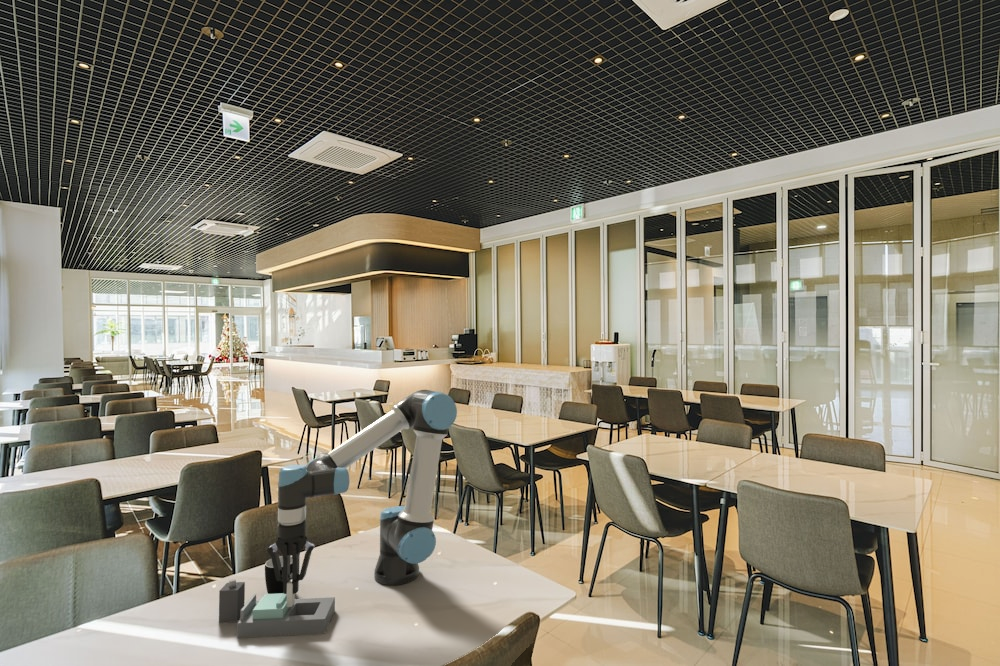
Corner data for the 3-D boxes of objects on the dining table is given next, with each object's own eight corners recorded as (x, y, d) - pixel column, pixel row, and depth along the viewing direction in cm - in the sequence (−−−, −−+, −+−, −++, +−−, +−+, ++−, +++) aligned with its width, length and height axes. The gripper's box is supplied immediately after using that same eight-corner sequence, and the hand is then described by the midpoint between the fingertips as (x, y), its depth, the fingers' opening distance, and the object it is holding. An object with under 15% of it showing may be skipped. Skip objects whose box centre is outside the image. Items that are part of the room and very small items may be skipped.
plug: (244, 612, 149) (244, 576, 149) (237, 621, 144) (237, 584, 144) (226, 613, 148) (227, 577, 148) (218, 622, 143) (219, 585, 143)
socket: (334, 610, 150) (335, 588, 150) (324, 633, 138) (325, 609, 138) (254, 614, 147) (254, 591, 148) (237, 638, 136) (237, 613, 136)
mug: (290, 599, 156) (291, 566, 157) (260, 601, 155) (261, 568, 155) (300, 581, 168) (300, 551, 169) (271, 583, 167) (272, 552, 167)
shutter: (292, 601, 147) (293, 589, 147) (282, 617, 138) (282, 605, 138) (264, 602, 146) (264, 590, 147) (252, 619, 137) (252, 606, 138)
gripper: (318, 515, 148) (317, 596, 147) (272, 517, 147) (271, 599, 146) (311, 524, 140) (310, 610, 140) (263, 526, 139) (261, 612, 138)
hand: (290, 604), depth 143 cm, fingers closed
